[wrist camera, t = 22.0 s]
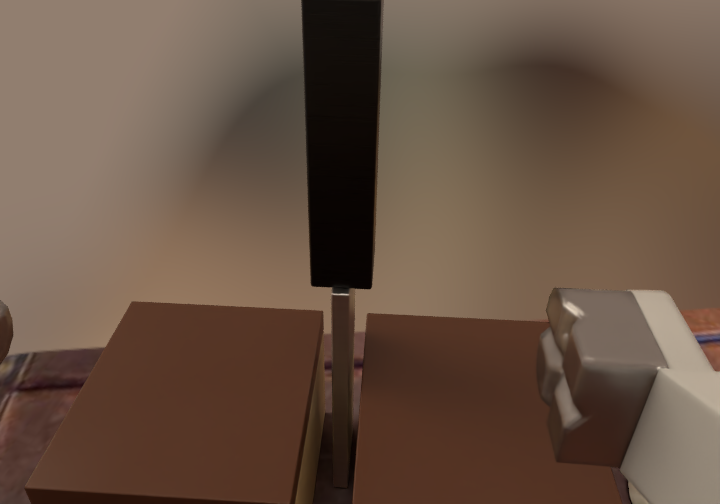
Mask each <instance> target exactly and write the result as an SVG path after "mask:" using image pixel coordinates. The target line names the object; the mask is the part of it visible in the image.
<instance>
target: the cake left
mask: <svg viewBox="0 0 720 504" xmlns="http://www.w3.org/2000/svg"><path fill="white" fill-rule="evenodd" d="M323 329H324V328H323V311H315V310H295V309H274V308H255V307H234V306H214V305H194V304H172V303H154V302H131V304H130V306H129V308H128V309H127V311H126V313H125V314H124V316H123V318H122V320H121V321H120V323H119V325H118V327H117V328H116V330H115V332H114V333H113V335H112V337H111V339H110V340H109V342H108V344H107V346H106V347H105V349H104V351H103V353H102V354H101V356H100V358H99V359H98V361H97V363H96V365H95V366H94V368H93V370H92V372H91V373H90V375H89V377H88V378H87V380H86V382H85V384H84V385H83V387H82V389H81V391H80V392H79V394H78V396H77V397H76V399H75V401H74V403H73V404H72V406H71V408H70V410H69V411H68V413H67V415H66V416H65V418H64V420H63V422H62V423H61V425H60V427H59V429H58V430H57V432H56V434H55V435H54V437H53V439H52V441H51V442H50V444H49V446H48V448H47V449H46V451H45V453H44V455H43V456H42V458H41V460H40V461H39V463H38V465H37V467H36V468H35V470H34V472H33V474H32V475H31V477H30V479H29V480H28V482H27V484H26V486H25V491H26V493H27V495H28V497H29V500H30V502H31V504H313V498H314V490H315V483H316V476H317V469H318V461H319V454H320V447H321V439H322V432H323V425H324V417H325V374H324V331H323Z"/></svg>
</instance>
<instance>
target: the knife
mask: <svg viewBox="0 0 720 504" xmlns="http://www.w3.org/2000/svg"><path fill="white" fill-rule="evenodd" d="M301 3H302V4H301V5H302V34H303V64H304V93H305V94H304V95H305V125H306V156H307V184H308V185H307V186H308V213H309V214H308V215H309V245H310V275H311V285H312V286H314V287H332V293H331V320H332V321H331V323H332V415H333V486H334V487H341V488H347V487H348V479H349V468H350V457H351V445H352V434H353V385H354V320H355V289H371V287H372V279H373V266H374V252H375V227H376V198H377V172H378V171H377V170H378V144H379V143H378V142H379V114H380V88H381V58H382V32H383V31H382V30H383V3H384V0H301Z"/></svg>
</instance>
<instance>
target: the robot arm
mask: <svg viewBox="0 0 720 504" xmlns="http://www.w3.org/2000/svg"><path fill="white" fill-rule="evenodd" d="M546 312H547V316H548V320H549V323H550V327H549V328H548V329H546V330H545V331H544V332H543V333H542V334H540V338H539V343H538V348H537V356H536V378H537V386H538V391H539V395H540V399H541V400H542V401H543V402H545V403H546V404H547V405H548V406H549V407H550V410H549V414H548V418H547V422H546V424H547V428H548V432H549V436H550V440H551V444H552V448H553V452H554V456H555V460H556V462H558V463H570V464H582V465H593V466H605V467H616V468H620V470H619V471H620V472H621V473H622V474H623V475H624V476H625V477H626V479H627V480H628V481H629V482H630V483H631V484H632V485H633V486H634V487H635V488H636V489H637V491H638V492H639V493H640V494H641V495H642V496H643V497H644V498H645V499H646V500H647V502H648V503H649V504H720V372H716V371H714V369H713V368H712V366H711V364H710V363H709V361H708V359H707V357H706V356H705V354H704V352H703V351H702V349H701V347H700V345H699V344H698V342H697V340H696V339H695V337H694V335H693V334H692V332H691V330H690V328H689V327H688V325H687V323H686V322H685V320H684V318H683V316H682V315H681V313H680V311H679V310H678V308H677V306H676V305H675V303H674V301H673V299H672V298H671V296H670V295H669V294H668V293H666V292H665V291H663V290H661V291H660V290H626V291H618V290H595V289H571V288H554V289H553V290H552V293H551V294H550V296H549V301H548V304H547V308H546ZM12 338H13V324H12V317H11V315H10V312H9V309H8V306H6V305H5V304H4V303H3V302H2V301H1V300H0V364H1V363H2V361H3V360H4V358H5V357H6V356H7V354H8V351H9V348H10V344H11V341H12Z"/></svg>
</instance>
